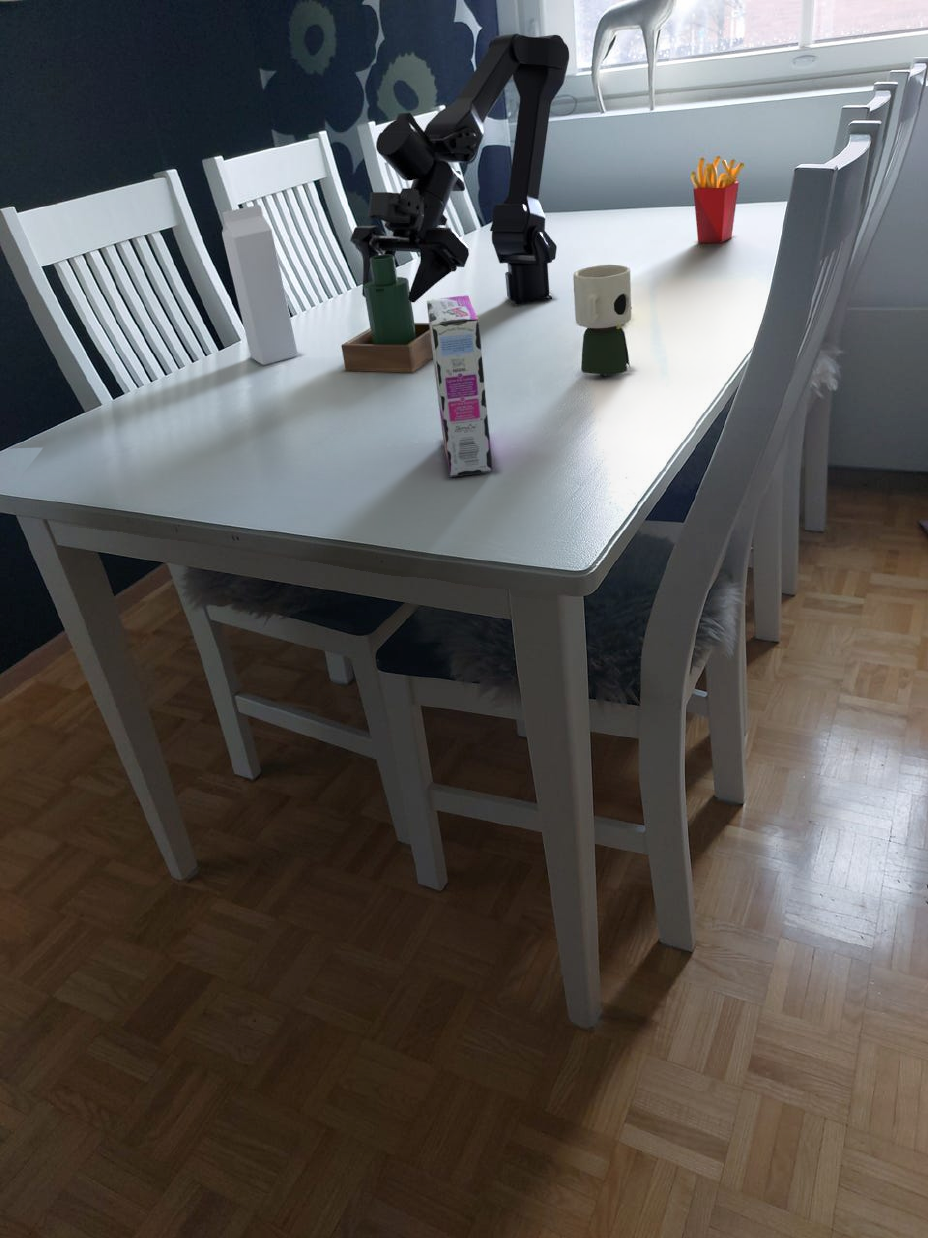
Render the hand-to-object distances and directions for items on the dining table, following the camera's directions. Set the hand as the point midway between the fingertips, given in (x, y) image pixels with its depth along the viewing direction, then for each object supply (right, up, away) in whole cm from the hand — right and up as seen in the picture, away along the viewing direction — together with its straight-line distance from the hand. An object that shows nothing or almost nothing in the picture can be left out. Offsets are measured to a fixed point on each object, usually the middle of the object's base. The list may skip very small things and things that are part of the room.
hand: (387, 298), depth 136 cm
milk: (-19, -5, +14) cm, 24 cm away
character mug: (+30, -14, -11) cm, 35 cm away
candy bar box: (+12, -28, -30) cm, 43 cm away
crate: (+1, -7, +5) cm, 9 cm away
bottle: (+1, -7, +4) cm, 8 cm away
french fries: (+60, +27, +47) cm, 81 cm away
